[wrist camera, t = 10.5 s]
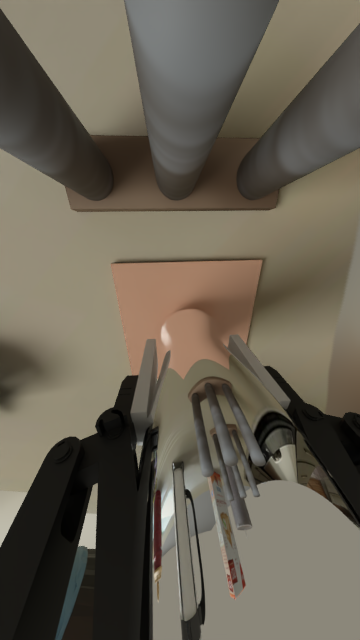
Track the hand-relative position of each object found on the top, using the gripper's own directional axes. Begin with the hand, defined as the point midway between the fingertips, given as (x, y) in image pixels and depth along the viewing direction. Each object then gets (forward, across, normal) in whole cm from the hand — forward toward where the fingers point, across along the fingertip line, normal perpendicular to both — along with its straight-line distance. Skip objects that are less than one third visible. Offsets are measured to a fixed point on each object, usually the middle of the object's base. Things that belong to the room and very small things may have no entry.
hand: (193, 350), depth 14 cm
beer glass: (+3, 0, 0) cm, 3 cm away
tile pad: (+4, 0, 0) cm, 4 cm away
